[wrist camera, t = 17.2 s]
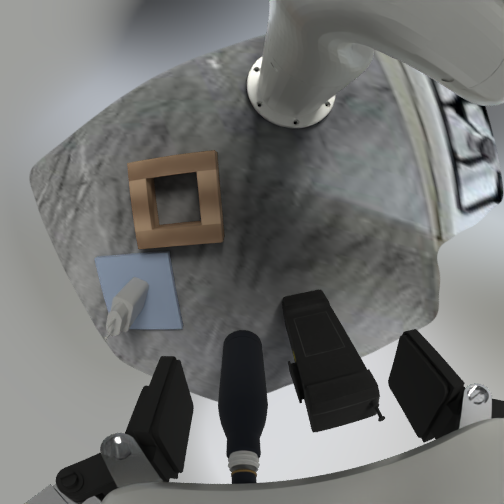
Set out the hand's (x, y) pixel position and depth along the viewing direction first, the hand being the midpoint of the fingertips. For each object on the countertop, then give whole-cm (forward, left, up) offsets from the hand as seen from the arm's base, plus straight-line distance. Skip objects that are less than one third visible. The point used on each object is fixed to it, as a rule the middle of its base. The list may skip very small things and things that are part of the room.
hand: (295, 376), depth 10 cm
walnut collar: (-5, -11, -30) cm, 33 cm away
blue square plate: (+9, -20, -30) cm, 37 cm away
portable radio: (+14, +6, -31) cm, 34 cm away
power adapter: (+9, -20, -30) cm, 37 cm away
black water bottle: (+20, -4, -31) cm, 37 cm away
